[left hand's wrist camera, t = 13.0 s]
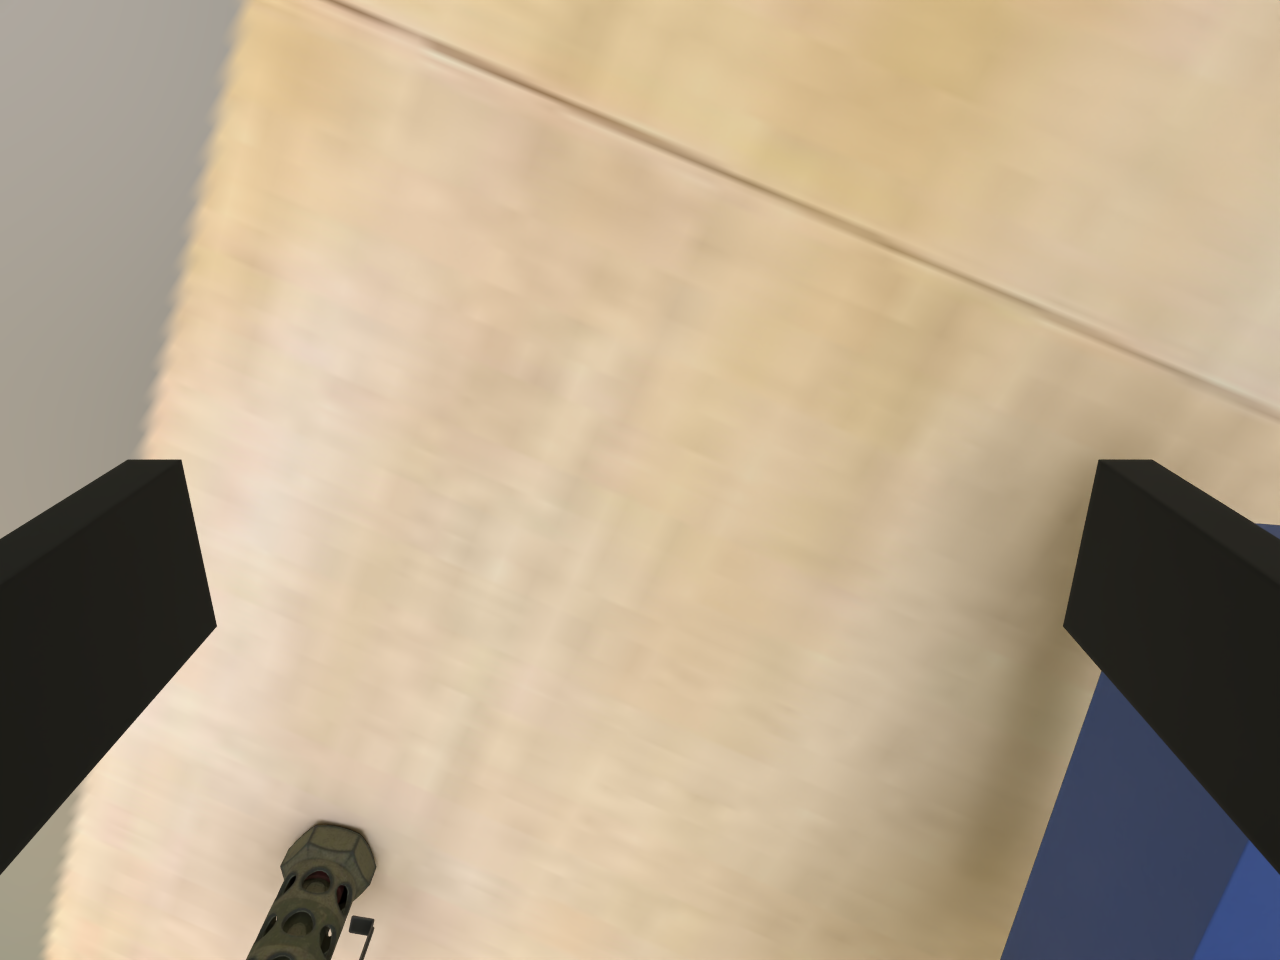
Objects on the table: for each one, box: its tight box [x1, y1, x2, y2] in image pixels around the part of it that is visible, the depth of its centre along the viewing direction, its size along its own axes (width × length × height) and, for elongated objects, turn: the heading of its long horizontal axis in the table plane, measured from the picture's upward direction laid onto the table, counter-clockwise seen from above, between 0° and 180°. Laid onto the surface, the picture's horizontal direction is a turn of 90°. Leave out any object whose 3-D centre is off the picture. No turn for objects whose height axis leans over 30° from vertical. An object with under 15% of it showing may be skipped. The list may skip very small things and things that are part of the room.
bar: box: [1000, 523, 1280, 960], centre depth 34 cm, size 27×5×9 cm, turn 175°
